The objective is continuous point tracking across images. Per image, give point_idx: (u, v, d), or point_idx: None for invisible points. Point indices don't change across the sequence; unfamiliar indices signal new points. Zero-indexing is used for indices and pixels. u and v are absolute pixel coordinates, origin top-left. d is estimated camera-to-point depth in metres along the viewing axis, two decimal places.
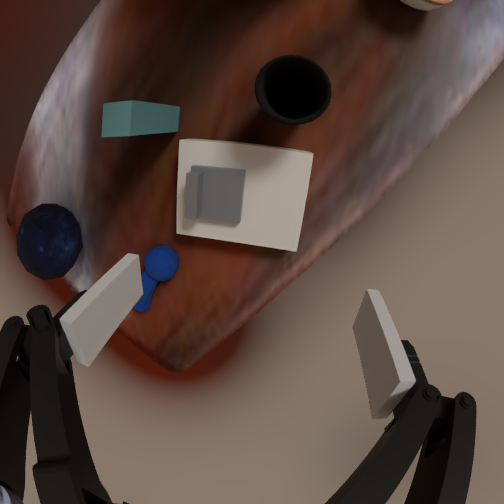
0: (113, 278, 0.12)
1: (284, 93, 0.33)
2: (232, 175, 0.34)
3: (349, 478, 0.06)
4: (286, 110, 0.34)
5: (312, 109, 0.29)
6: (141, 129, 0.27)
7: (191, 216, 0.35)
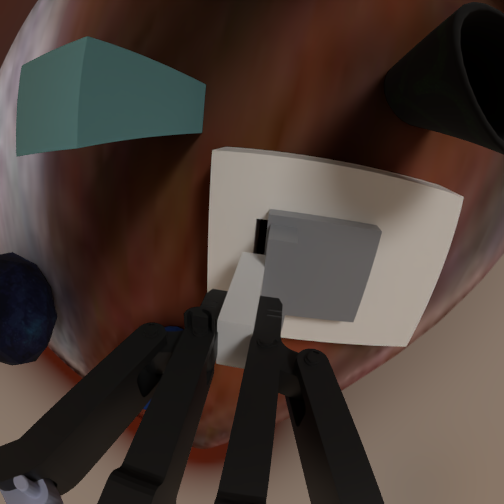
0: (247, 276, 0.14)
1: None
2: (356, 239, 0.16)
3: None
4: None
5: None
6: (119, 125, 0.09)
7: None
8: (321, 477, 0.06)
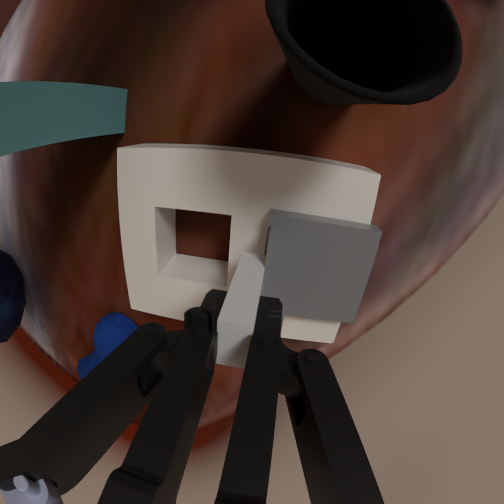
0: (247, 276, 0.14)
1: (316, 55, 0.15)
2: (356, 240, 0.16)
3: None
4: None
5: (387, 81, 0.11)
6: (22, 138, 0.10)
7: None
8: (321, 477, 0.06)
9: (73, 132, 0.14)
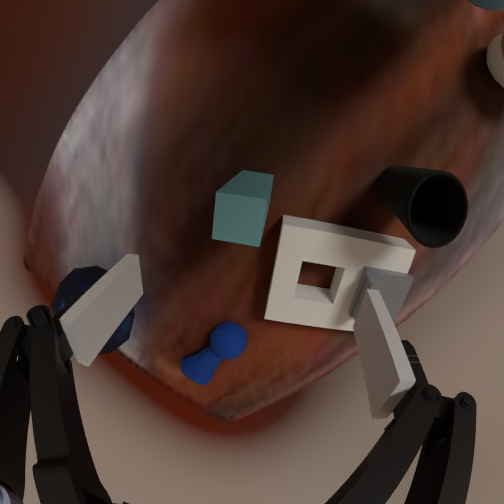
0: (113, 278, 0.12)
1: None
2: (402, 282, 0.32)
3: (349, 478, 0.06)
4: None
5: (429, 211, 0.27)
6: (263, 228, 0.25)
7: None
8: None
9: (266, 215, 0.29)
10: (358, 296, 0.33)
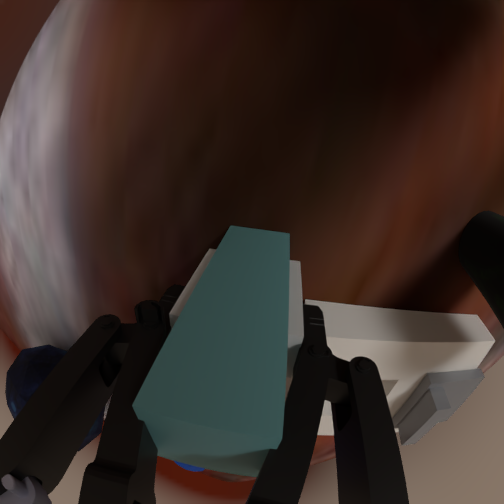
0: None
1: None
2: (470, 384, 0.16)
3: None
4: None
5: None
6: None
7: (412, 442, 0.17)
8: (356, 481, 0.05)
9: None
10: (410, 410, 0.18)
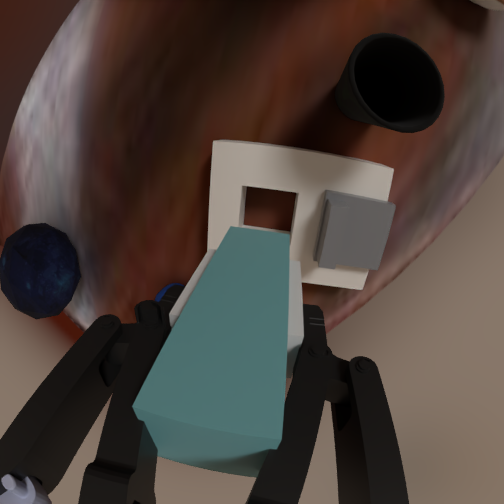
0: None
1: None
2: (380, 210, 0.24)
3: None
4: None
5: (399, 111, 0.19)
6: None
7: (329, 265, 0.25)
8: (356, 481, 0.05)
9: None
10: (320, 230, 0.26)
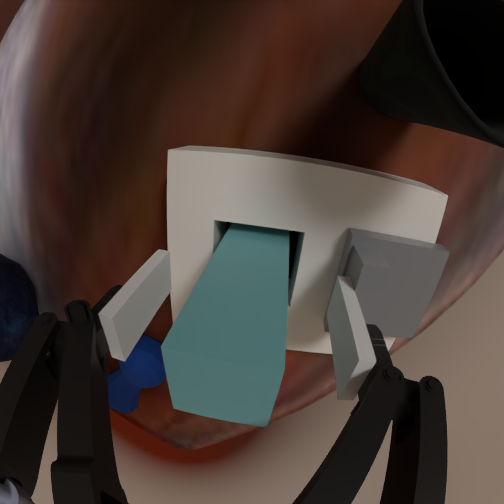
0: (148, 273, 0.13)
1: None
2: (428, 260, 0.15)
3: (321, 465, 0.07)
4: None
5: None
6: None
7: None
8: (402, 493, 0.05)
9: None
10: None
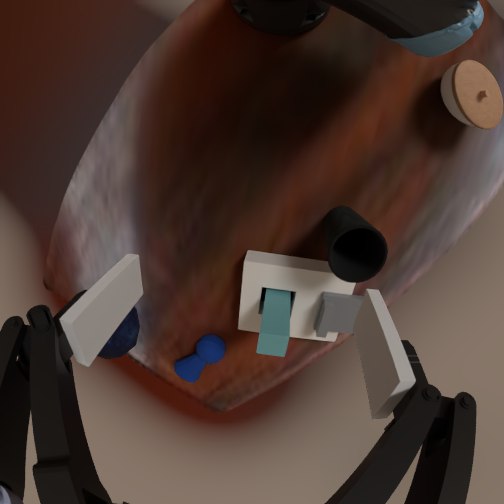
0: (113, 278, 0.12)
1: None
2: (355, 303, 0.41)
3: (349, 478, 0.06)
4: None
5: (363, 247, 0.37)
6: None
7: (322, 335, 0.42)
8: None
9: None
10: (318, 314, 0.43)
